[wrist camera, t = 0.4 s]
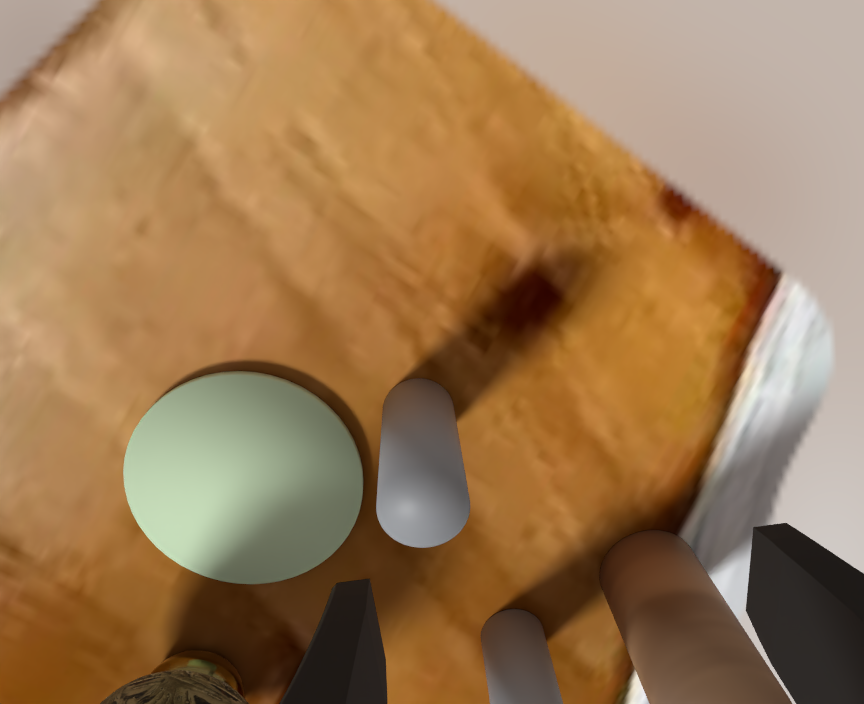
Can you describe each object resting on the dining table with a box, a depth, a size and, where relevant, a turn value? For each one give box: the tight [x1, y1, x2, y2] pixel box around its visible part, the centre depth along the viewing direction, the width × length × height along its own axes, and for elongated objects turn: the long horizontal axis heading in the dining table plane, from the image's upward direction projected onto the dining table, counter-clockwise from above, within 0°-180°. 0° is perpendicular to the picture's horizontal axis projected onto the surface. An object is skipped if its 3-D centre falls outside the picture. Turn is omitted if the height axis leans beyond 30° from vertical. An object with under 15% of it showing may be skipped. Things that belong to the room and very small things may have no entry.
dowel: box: [600, 530, 792, 704], centre depth 23 cm, size 4×4×7 cm
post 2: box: [481, 609, 563, 704], centre depth 24 cm, size 2×2×6 cm
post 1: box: [376, 378, 470, 548], centre depth 21 cm, size 2×2×6 cm
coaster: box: [123, 371, 363, 584], centre depth 24 cm, size 8×8×1 cm
